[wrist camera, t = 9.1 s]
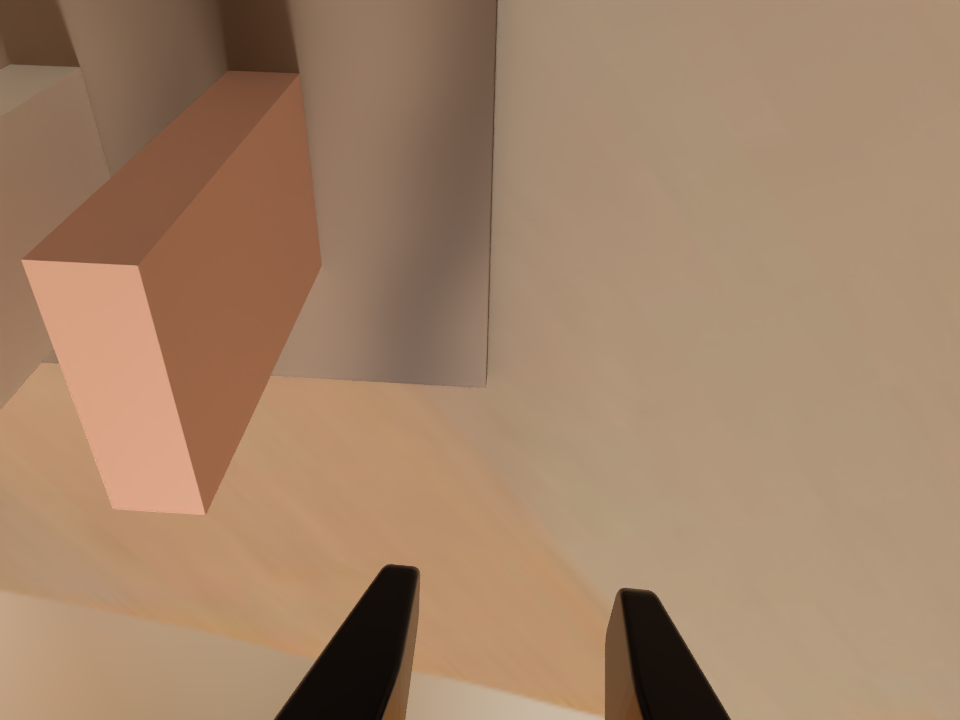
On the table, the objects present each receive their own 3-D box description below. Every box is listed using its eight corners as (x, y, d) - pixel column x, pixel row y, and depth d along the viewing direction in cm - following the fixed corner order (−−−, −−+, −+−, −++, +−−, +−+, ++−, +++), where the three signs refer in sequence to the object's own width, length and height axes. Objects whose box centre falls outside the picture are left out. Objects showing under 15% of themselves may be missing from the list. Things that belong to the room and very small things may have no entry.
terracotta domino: (259, 262, 20) (113, 509, 14) (228, 70, 18) (20, 259, 11) (321, 265, 20) (205, 514, 13) (299, 73, 17) (138, 265, 11)
